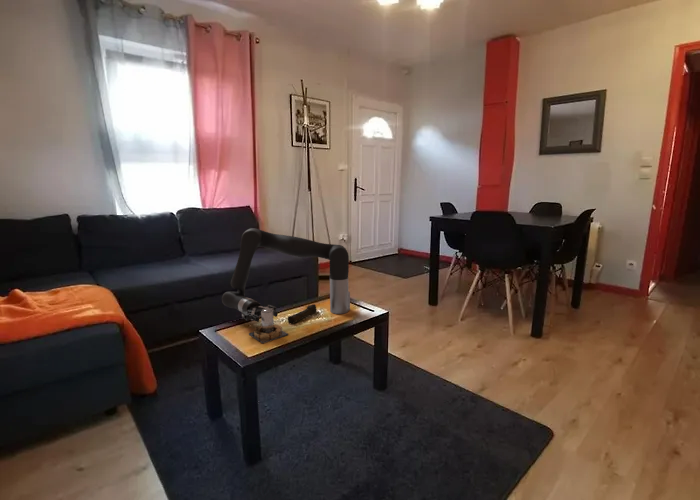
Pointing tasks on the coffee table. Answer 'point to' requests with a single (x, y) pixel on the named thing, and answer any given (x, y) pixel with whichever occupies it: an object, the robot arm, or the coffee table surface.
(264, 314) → the cylinder
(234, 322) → the coffee table surface
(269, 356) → the coffee table surface
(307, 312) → the hand tool
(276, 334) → the ring plate
